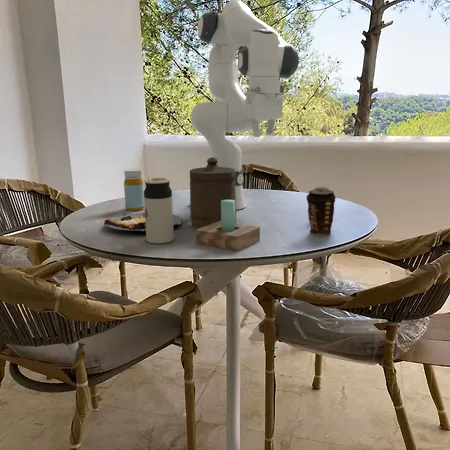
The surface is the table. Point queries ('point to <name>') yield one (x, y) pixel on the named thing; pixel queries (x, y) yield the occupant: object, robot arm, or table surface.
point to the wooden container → (210, 192)
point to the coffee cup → (320, 211)
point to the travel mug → (158, 210)
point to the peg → (228, 215)
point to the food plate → (132, 222)
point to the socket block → (228, 236)
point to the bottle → (133, 190)
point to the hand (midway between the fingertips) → (263, 135)
